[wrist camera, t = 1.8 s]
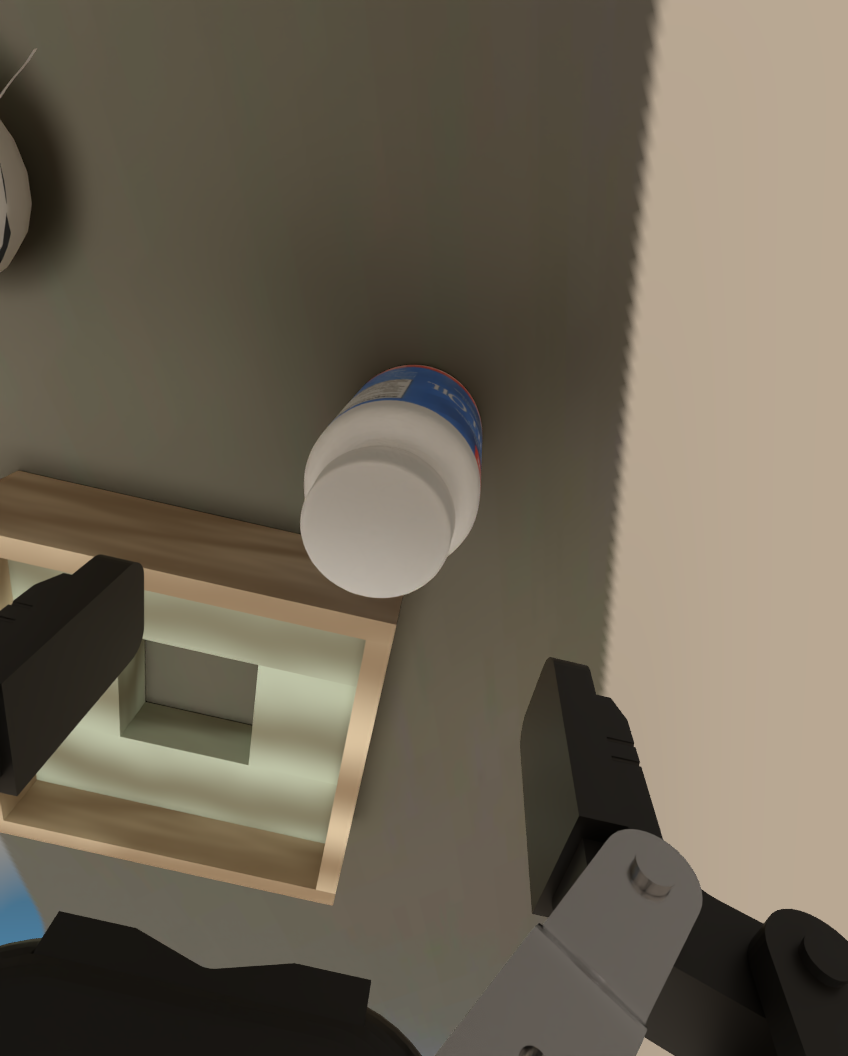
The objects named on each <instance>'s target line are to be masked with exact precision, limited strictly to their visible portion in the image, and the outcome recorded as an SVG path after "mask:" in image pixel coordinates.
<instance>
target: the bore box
mask: <svg viewBox="0 0 848 1056" xmlns="http://www.w3.org/2000/svg"><path fill="white" fill-rule="evenodd" d="M99 554H102V555H107V556H111V557H116V558H120V559H125V560H129V561H133V562H138V563H140V564H141V565H142V566H143V569H144V633H143V638H142V641H141V644H140V647H139V649H138V651H137V653H136V655H135V656H134V658H133V659H132V661H131V662H130V663H129V664H128V665H127V667H126V668H125V669H124V670H123V671H122V672H121V674H120V675H119V676H118V677H117V678H116V680H115V681H114V682H113V683H112V684H111V686H110V687H109V688H108V689H107V690H106V691H105V693H104V694H103V695H102V696H101V697H100V699H99V700H98V701H97V702H96V703H95V705H94V706H93V707H92V708H91V709H90V711H89V712H88V713H87V714H86V715H85V716H84V718H83V719H82V720H81V721H80V722H79V724H78V725H77V726H76V727H75V728H74V730H73V731H72V732H71V733H70V734H69V735H68V737H67V738H66V739H65V740H64V741H63V743H62V744H61V745H60V746H59V747H58V749H57V750H56V751H55V752H54V753H53V755H52V756H51V757H50V758H49V759H48V760H47V762H46V763H45V764H44V765H43V766H42V768H41V769H40V770H39V771H38V772H37V774H36V775H35V776H34V777H33V778H32V779H31V781H30V782H29V783H28V784H27V785H26V787H25V788H24V789H23V790H22V791H21V793H20V794H19V795H18V796H13V795H8V794H4V793H0V832H2V833H6V834H11V835H15V836H20V837H24V838H29V839H33V840H38V841H43V842H47V843H52V844H56V845H61V846H65V847H70V848H74V849H79V850H83V851H88V852H92V853H97V854H101V855H106V856H110V857H115V858H119V859H124V860H129V861H133V862H138V863H142V864H147V865H151V866H156V867H160V868H165V869H169V870H174V871H178V872H183V873H187V874H192V875H196V876H201V877H205V878H210V879H214V880H219V881H224V882H228V883H233V884H237V885H242V886H246V887H251V888H255V889H260V890H264V891H269V892H273V893H278V894H282V895H287V896H291V897H296V898H300V899H305V900H309V901H314V902H319V903H323V904H328V905H332V906H333V902H334V898H335V893H336V889H337V884H338V880H339V876H340V871H341V867H342V862H343V858H344V854H345V849H346V845H347V840H348V836H349V832H350V827H351V823H352V818H353V814H354V810H355V805H356V801H357V796H358V792H359V788H360V783H361V779H362V774H363V770H364V766H365V761H366V757H367V752H368V748H369V744H370V739H371V735H372V730H373V726H374V722H375V717H376V713H377V708H378V704H379V700H380V695H381V691H382V686H383V682H384V678H385V673H386V669H387V664H388V660H389V655H390V651H391V647H392V642H393V638H394V633H395V629H396V625H397V620H398V616H399V611H400V607H401V603H402V598H403V595H401V596H397V597H390V598H372V597H366V596H362V595H358V594H354V593H351V592H349V591H347V590H345V589H343V588H341V587H339V586H337V585H336V584H334V583H333V582H331V581H330V580H329V579H327V578H326V577H325V576H324V575H323V574H322V573H321V572H320V571H319V570H318V569H317V567H316V566H315V565H314V564H313V562H312V561H311V559H310V557H309V555H308V553H307V551H306V549H305V547H304V544H303V540H302V536H301V535H300V534H296V533H292V532H287V531H283V530H278V529H274V528H270V527H265V526H261V525H256V524H252V523H247V522H243V521H239V520H234V519H230V518H225V517H221V516H217V515H212V514H208V513H203V512H199V511H194V510H190V509H186V508H181V507H177V506H172V505H168V504H164V503H159V502H155V501H150V500H146V499H142V498H137V497H133V496H128V495H124V494H119V493H115V492H111V491H106V490H102V489H97V488H93V487H89V486H84V485H80V484H75V483H71V482H66V481H62V480H58V479H53V478H49V477H44V476H40V475H36V474H31V473H27V472H22V471H16V472H14V473H12V474H10V475H8V476H6V477H4V478H2V479H0V610H2V609H3V608H4V607H6V606H7V605H8V604H9V605H11V604H12V603H13V600H15V599H16V598H17V597H19V596H20V595H21V594H23V593H24V592H25V591H27V590H28V589H29V588H30V587H32V586H33V585H34V584H37V583H39V582H42V581H44V580H47V579H49V578H52V577H54V576H57V575H59V574H62V573H67V574H71V575H72V574H73V573H75V572H76V571H77V570H78V569H79V568H81V567H82V566H83V565H84V564H86V563H87V562H88V561H89V560H91V559H92V558H93V557H95V556H96V555H99ZM145 640H150V641H154V642H159V643H163V644H168V645H172V646H176V647H181V648H185V649H190V650H194V651H199V652H203V653H208V654H212V655H217V656H221V657H225V658H230V659H234V660H239V661H243V662H248V663H252V664H257V665H259V666H258V676H257V686H256V696H255V706H254V716H253V726H252V725H247V724H243V723H238V722H234V721H229V720H225V719H220V718H216V717H211V716H207V715H202V714H198V713H193V712H189V711H184V710H180V709H175V708H171V707H167V706H162V705H158V704H153V703H149V702H145Z"/></svg>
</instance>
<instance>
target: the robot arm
mask: <svg viewBox="0 0 848 1056" xmlns="http://www.w3.org/2000/svg"><path fill="white" fill-rule="evenodd" d="M143 633H144V569H143V566H142V565H141V564H140V563H138V562H133V561H129V560H125V559H120V558H116V557H111V556H107V555H102V554H99V555H96V556H95V557H93V558H92V559H91V560H89V561H88V562H87V563H86V564H84V565H83V566H82V567H81V568H79V569H78V570H77V571H76V572H75V573H73V574H72V575H71V574H67V573H62V574H59V575H57V576H54V577H52V578H49V579H47V580H44V581H42V582H39V583H37V584H34V585H33V586H32V587H30V588H29V589H28V590H27V591H25V592H24V593H23V594H21V595H20V596H19V597H17V598H16V599H15V600H13V603H12V604H11V605H9V604H8V605H7V606H6V607H4V608H3V609H2V610H0V793H4V794H8V795H13V796H18V795H19V794H20V793H21V791H22V790H23V789H24V788H25V787H26V785H27V784H28V783H29V782H30V781H31V779H32V778H33V777H34V776H35V775H36V774H37V772H38V771H39V770H40V769H41V768H42V766H43V765H44V764H45V763H46V762H47V760H48V759H49V758H50V757H51V756H52V755H53V753H54V752H55V751H56V750H57V749H58V747H59V746H60V745H61V744H62V743H63V741H64V740H65V739H66V738H67V737H68V735H69V734H70V733H71V732H72V731H73V730H74V728H75V727H76V726H77V725H78V724H79V722H80V721H81V720H82V719H83V718H84V716H85V715H86V714H87V713H88V712H89V711H90V709H91V708H92V707H93V706H94V705H95V703H96V702H97V701H98V700H99V699H100V697H101V696H102V695H103V694H104V693H105V691H106V690H107V689H108V688H109V687H110V686H111V684H112V683H113V682H114V681H115V680H116V678H117V677H118V676H119V675H120V674H121V672H122V671H123V670H124V669H125V668H126V667H127V665H128V664H129V663H130V662H131V661H132V659H133V658H134V656H135V655H136V653H137V651H138V649H139V647H140V644H141V641H142V638H143ZM520 751H521V765H522V779H523V793H524V807H525V821H526V835H527V849H528V863H529V877H530V891H531V905H532V914H536V915H540V916H545V917H549V918H548V919H547V920H546V921H545V923H544V924H543V925H541V924H540V923H539V924H537V925H536V926H535V927H534V928H533V929H532V930H531V932H530V933H529V934H528V935H527V936H526V938H525V939H524V940H523V942H522V943H521V944H520V945H519V947H518V948H517V949H516V951H515V952H514V953H513V955H512V956H511V957H510V958H509V960H508V961H507V962H506V964H505V965H504V966H503V968H502V969H501V970H500V971H499V973H498V974H497V975H496V977H495V978H494V979H493V981H492V982H491V983H490V984H489V986H488V987H487V988H486V990H485V991H484V992H483V993H482V995H481V996H480V997H479V999H478V1000H477V1001H476V1003H475V1004H474V1005H473V1006H472V1008H471V1009H470V1010H469V1012H468V1013H467V1014H466V1016H465V1017H464V1018H463V1019H462V1021H461V1022H460V1023H459V1025H458V1026H457V1027H456V1029H455V1030H454V1031H453V1032H452V1034H451V1035H450V1036H449V1038H448V1039H447V1040H446V1042H445V1043H444V1044H443V1045H442V1047H441V1048H440V1049H439V1051H438V1052H437V1053H436V1055H435V1056H636V1054H637V1052H638V1050H639V1048H640V1046H641V1044H642V1041H643V1039H644V1037H645V1038H647V1039H648V1040H650V1041H652V1042H653V1043H655V1044H656V1045H658V1046H660V1047H661V1048H663V1049H665V1050H666V1051H668V1052H669V1053H671V1054H673V1055H674V1056H848V941H847V940H846V939H845V938H844V937H843V936H842V935H840V934H839V933H838V932H837V931H836V930H834V929H833V928H831V927H830V926H829V925H828V924H826V923H824V922H823V921H821V920H820V919H818V918H816V917H814V916H812V915H810V914H808V913H805V912H802V911H798V910H793V909H781V910H777V911H775V912H774V913H772V914H771V915H770V916H769V918H768V919H767V920H766V922H765V923H764V924H763V923H761V922H759V921H757V920H755V919H753V918H751V917H749V916H748V915H745V914H744V913H742V912H740V911H738V910H736V909H734V908H732V907H730V906H729V905H727V904H725V903H723V902H721V901H719V900H717V899H716V898H714V897H712V896H710V895H709V894H707V893H706V892H704V891H703V890H702V889H701V887H700V884H699V881H698V879H697V876H696V874H695V873H694V871H693V869H692V868H691V867H690V865H689V864H688V862H687V861H686V860H685V858H684V857H683V856H682V855H680V853H679V852H678V851H677V850H676V849H675V848H673V847H672V846H671V845H670V844H668V843H667V842H665V841H664V840H663V838H662V835H661V831H660V828H659V825H658V821H657V818H656V815H655V811H654V808H653V804H652V801H651V798H650V795H649V791H648V788H647V784H646V781H645V778H644V774H643V771H642V768H641V767H640V766H639V763H640V761H639V758H638V754H637V751H636V748H635V747H634V741H633V738H632V735H631V731H630V728H629V724H628V721H627V719H626V718H625V716H624V715H623V714H622V713H621V711H620V710H619V709H618V707H617V706H616V704H615V703H614V702H613V701H612V699H611V698H609V697H604V696H600V695H596V692H595V688H594V684H593V680H592V676H591V672H590V669H589V667H588V666H587V665H582V664H578V663H573V662H569V661H565V660H560V659H556V658H551V657H549V658H548V659H547V660H546V662H545V664H544V666H543V669H542V672H541V674H540V677H539V680H538V682H537V685H536V688H535V690H534V693H533V696H532V698H531V701H530V704H529V706H528V709H527V712H526V714H525V717H524V721H523V725H522V731H521V740H520ZM370 985H371V980H368V979H363V978H359V977H354V976H350V975H345V974H341V973H336V972H332V971H327V970H323V969H318V968H314V967H309V966H305V965H300V964H295V963H293V964H278V965H264V966H250V967H236V968H221V969H209V968H204V967H202V966H200V965H198V964H196V963H194V962H193V961H191V960H189V959H188V958H186V957H184V956H183V955H181V954H179V953H177V952H176V951H174V950H172V949H171V948H169V947H167V946H166V945H164V944H162V943H160V942H159V941H157V940H155V939H154V938H152V937H150V936H148V935H147V934H145V933H143V932H142V931H140V930H138V929H137V928H133V927H128V926H124V925H119V924H115V923H110V922H106V921H101V920H97V919H92V918H88V917H83V916H79V915H74V914H70V913H65V912H61V911H59V912H58V914H57V915H56V917H55V918H54V920H53V922H52V923H51V925H50V926H49V928H48V930H47V931H46V933H45V934H44V936H43V937H42V938H38V939H37V938H36V939H30V940H24V941H19V942H14V943H8V944H5V945H1V946H0V1056H422V1055H421V1054H420V1053H419V1051H418V1050H417V1049H416V1048H415V1046H414V1045H413V1044H412V1043H411V1042H410V1041H409V1040H408V1039H407V1037H406V1036H405V1035H404V1034H403V1033H402V1032H401V1031H400V1030H399V1029H398V1028H397V1027H395V1026H394V1025H393V1024H392V1023H390V1022H389V1021H388V1020H386V1019H385V1018H384V1017H383V1016H381V1015H380V1014H378V1013H376V1012H375V1011H373V1010H371V1009H370V1008H368V1007H367V1004H368V998H369V991H370Z"/></svg>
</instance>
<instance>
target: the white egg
mask: <svg viewBox="0 0 848 1056" xmlns="http://www.w3.org/2000/svg"><path fill="white" fill-rule="evenodd" d="M36 50H37V48H35V49H34V50H33V51H32V53H31V54H30V56H29V57H28V59H27V60H26V62H25V63H24V64H23V66H22V67H21V68H20V69H19V71H18V72H17V73H16V74H15V75H14V76H13V78H12V79H11V80H10V81H9V83H8V84H7V85H6V87H5V88H4V89H3V91H2V92H1V94H0V98H1V97H2V95H3V94H4V92H5V91H6V89H7V88H8V86H9V85H10V84H11V82H12V81H13V80H14V78H15V77H16V76H17V75H18V74H19V73H20V71H21V70H22V69H23V68H24V67H25V66H26V64H27V63H28V62H29V60H30V59H31V57H32V56H33V54H34V53H35V51H36ZM31 207H32V201H31V194H30V187H29V180H28V173H27V170H26V168H25V165H24V163H23V160H22V158H21V155H20V153H19V150H18V148H17V145H16V143H15V140H14V139H13V137H12V136H11V134H10V133H9V131H8V130H7V129H6V127H5V126H4V124H3V123H2V121H1V120H0V272H2V271H3V270H4V269H6V268H7V267H8V266H9V264H10V262H11V261H12V259H13V258H14V256H15V254H16V253H17V251H18V249H19V247H20V245H21V243H22V241H23V240H24V238H25V236H26V234H27V232H28V228H29V221H30V214H31Z"/></svg>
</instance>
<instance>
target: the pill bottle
mask: <svg viewBox="0 0 848 1056" xmlns="http://www.w3.org/2000/svg"><path fill="white" fill-rule="evenodd" d="M481 461H482V423H481V418H480V414H479V411H478V408H477V406H476V404H475V402H474V400H473V398H472V396H471V395H470V393H469V392H468V391H467V389H466V388H465V387H464V386H463V385H462V384H461V383H460V382H459V381H457V380H456V379H455V378H454V377H452V376H451V375H449V374H447V373H445V372H443V371H441V370H439V369H436V368H433V367H429V366H424V365H403V366H398V367H394V368H391V369H388V370H386V371H384V372H382V373H380V374H378V375H376V376H375V377H373V378H372V379H371V380H369V381H368V382H367V383H366V384H365V385H364V386H363V387H362V388H361V389H360V390H359V391H358V392H357V393H356V395H355V396H354V397H353V398H352V399H351V401H350V402H349V403H348V404H347V405H346V406H345V407H344V408H343V410H342V411H341V412H340V413H339V414H338V415H337V416H336V418H335V419H334V420H333V421H332V422H331V423H330V424H329V425H328V427H327V428H326V429H325V430H324V432H323V433H322V434H321V436H320V437H319V438H318V440H317V441H316V443H315V444H314V446H313V448H312V450H311V452H310V455H309V458H308V461H307V464H306V468H305V475H304V495H305V501H304V504H303V507H302V511H301V517H300V530H301V536H302V540H303V544H304V547H305V549H306V551H307V553H308V555H309V557H310V559H311V561H312V562H313V564H314V565H315V566H316V567H317V569H318V570H319V571H320V572H321V573H322V574H323V575H324V576H325V577H326V578H327V579H329V580H330V581H331V582H333V583H334V584H336V585H337V586H339V587H341V588H343V589H345V590H347V591H349V592H351V593H354V594H358V595H362V596H366V597H372V598H390V597H397V596H401V595H405V594H408V593H411V592H413V591H415V590H417V589H419V588H420V587H422V586H424V585H425V584H426V583H427V582H429V581H430V580H431V579H432V578H433V577H434V576H435V575H436V574H437V573H438V571H439V570H440V569H441V567H442V566H443V564H444V562H445V560H446V558H447V556H449V555H450V554H451V553H452V552H453V551H454V550H456V549H457V548H458V547H459V545H460V544H461V543H462V542H463V541H464V539H465V538H466V537H467V535H468V533H469V532H470V530H471V528H472V526H473V524H474V521H475V519H476V515H477V512H478V507H479V500H480V491H481Z"/></svg>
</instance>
